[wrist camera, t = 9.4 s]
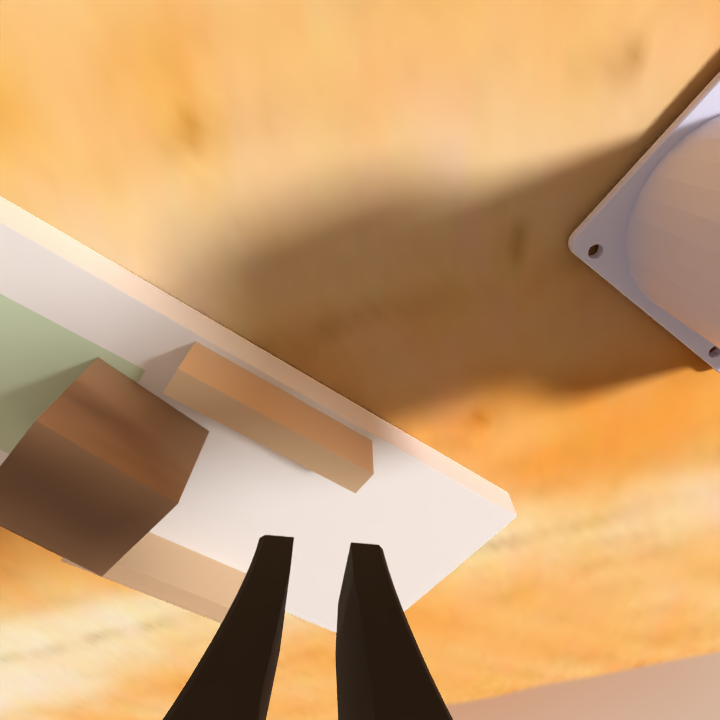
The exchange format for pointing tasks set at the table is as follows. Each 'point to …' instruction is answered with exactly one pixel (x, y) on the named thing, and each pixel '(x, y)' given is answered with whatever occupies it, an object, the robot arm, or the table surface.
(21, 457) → the walnut block
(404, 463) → the deck
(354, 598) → the robot arm
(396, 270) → the table surface
